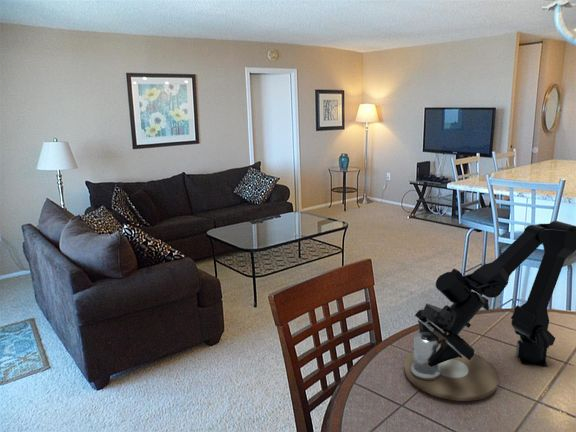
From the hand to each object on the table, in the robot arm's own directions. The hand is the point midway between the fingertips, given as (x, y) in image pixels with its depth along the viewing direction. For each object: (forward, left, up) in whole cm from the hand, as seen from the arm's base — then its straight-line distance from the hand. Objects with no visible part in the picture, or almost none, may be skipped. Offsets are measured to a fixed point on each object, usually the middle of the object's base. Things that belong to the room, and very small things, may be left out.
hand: (421, 358), depth 114 cm
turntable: (-7, -4, -7) cm, 11 cm away
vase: (-5, -25, -7) cm, 26 cm away
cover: (-1, -1, -4) cm, 5 cm away
